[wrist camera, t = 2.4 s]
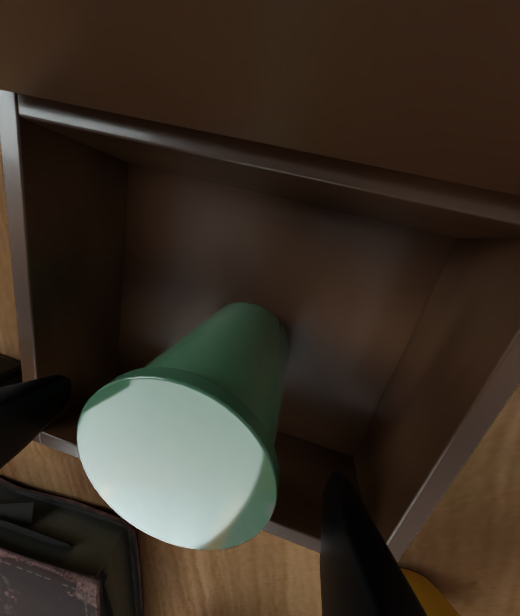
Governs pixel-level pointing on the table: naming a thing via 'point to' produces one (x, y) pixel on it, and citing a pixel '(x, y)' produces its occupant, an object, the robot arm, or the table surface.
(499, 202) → the wooden box
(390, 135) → the lid
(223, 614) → the table surface
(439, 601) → the apple
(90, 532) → the diary
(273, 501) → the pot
